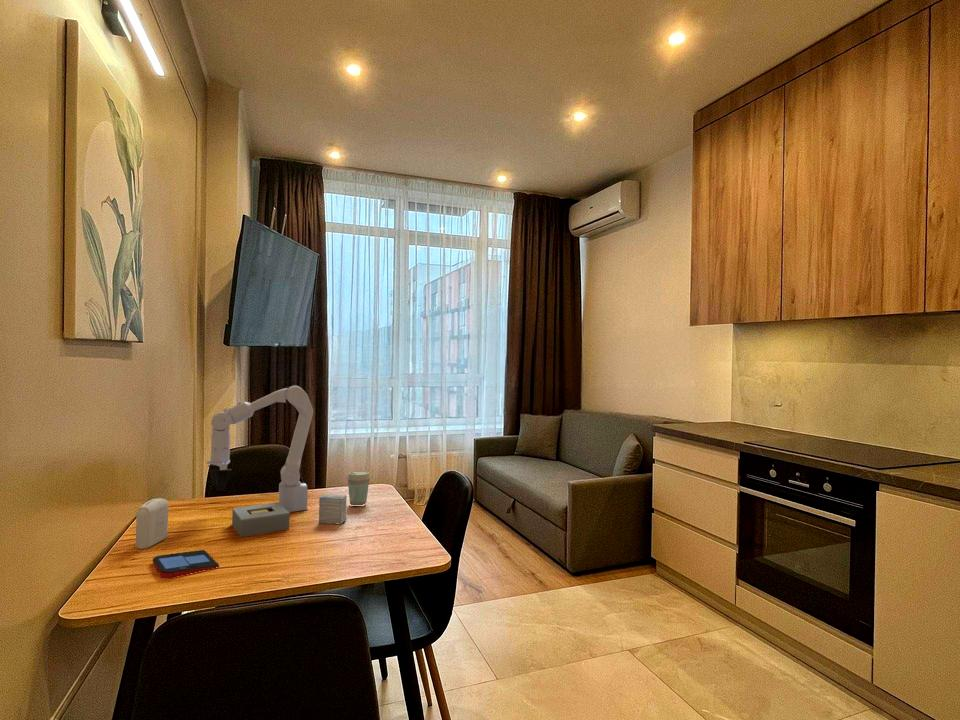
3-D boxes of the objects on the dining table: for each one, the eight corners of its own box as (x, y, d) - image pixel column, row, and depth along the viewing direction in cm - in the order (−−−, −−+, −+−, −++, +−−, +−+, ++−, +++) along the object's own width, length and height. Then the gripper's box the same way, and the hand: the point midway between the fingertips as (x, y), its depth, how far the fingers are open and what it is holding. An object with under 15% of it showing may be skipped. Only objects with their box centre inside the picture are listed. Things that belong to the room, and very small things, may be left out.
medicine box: (346, 520, 170) (347, 495, 170) (341, 525, 166) (342, 498, 166) (323, 519, 171) (324, 493, 171) (318, 523, 166) (319, 497, 166)
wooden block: (266, 524, 164) (266, 509, 164) (268, 527, 162) (268, 511, 162) (249, 527, 161) (249, 511, 161) (251, 530, 159) (252, 513, 159)
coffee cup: (347, 502, 193) (348, 470, 193) (370, 501, 194) (371, 470, 194) (344, 508, 184) (345, 475, 185) (368, 508, 185) (369, 475, 185)
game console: (219, 569, 129) (220, 561, 129) (161, 583, 121) (161, 573, 121) (205, 553, 140) (205, 545, 140) (150, 564, 131) (151, 555, 131)
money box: (277, 517, 171) (277, 502, 171) (289, 529, 160) (289, 512, 160) (232, 524, 163) (232, 508, 163) (240, 537, 152) (241, 519, 152)
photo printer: (155, 536, 150) (156, 495, 151) (169, 537, 151) (171, 495, 151) (132, 549, 140) (133, 504, 140) (148, 549, 140) (149, 504, 140)
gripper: (204, 445, 176) (202, 484, 176) (210, 451, 165) (209, 493, 164) (226, 444, 180) (225, 482, 180) (234, 450, 169) (233, 491, 169)
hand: (219, 487), depth 173 cm, fingers open, 7 cm apart
